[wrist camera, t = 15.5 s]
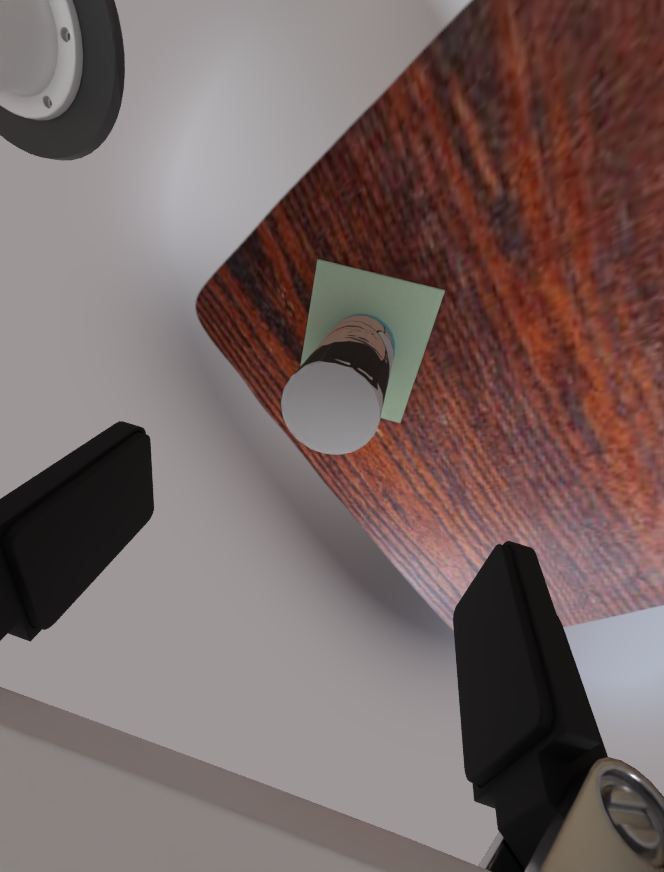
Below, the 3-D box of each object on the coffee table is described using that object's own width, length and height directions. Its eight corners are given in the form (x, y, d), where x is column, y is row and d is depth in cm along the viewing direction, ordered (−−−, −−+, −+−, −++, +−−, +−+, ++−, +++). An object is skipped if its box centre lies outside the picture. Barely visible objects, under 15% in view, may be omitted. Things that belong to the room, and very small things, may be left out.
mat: (297, 392, 42) (295, 394, 42) (318, 258, 35) (317, 259, 34) (400, 421, 41) (400, 423, 41) (444, 289, 34) (445, 290, 34)
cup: (401, 319, 35) (388, 372, 23) (388, 384, 39) (371, 463, 26) (332, 308, 36) (282, 354, 24) (325, 373, 40) (279, 444, 27)
